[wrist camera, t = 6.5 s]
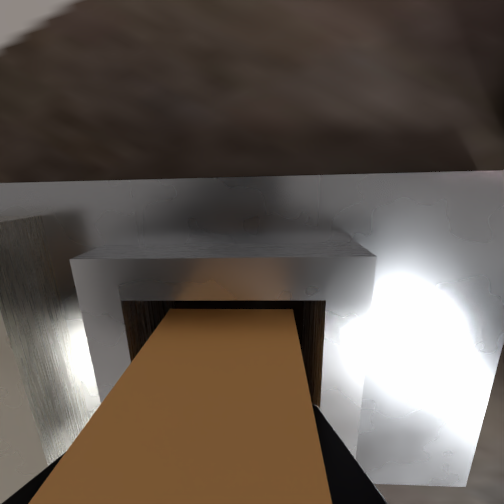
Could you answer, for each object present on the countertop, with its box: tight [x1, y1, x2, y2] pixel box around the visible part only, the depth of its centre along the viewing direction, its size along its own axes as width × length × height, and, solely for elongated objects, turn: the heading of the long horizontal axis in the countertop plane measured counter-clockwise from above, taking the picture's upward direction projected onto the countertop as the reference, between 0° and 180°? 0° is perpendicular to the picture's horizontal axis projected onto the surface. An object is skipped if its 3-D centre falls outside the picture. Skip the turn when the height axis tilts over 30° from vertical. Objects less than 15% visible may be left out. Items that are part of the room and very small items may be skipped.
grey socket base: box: [0, 170, 504, 504], centre depth 10 cm, size 18×12×4 cm, turn 92°
